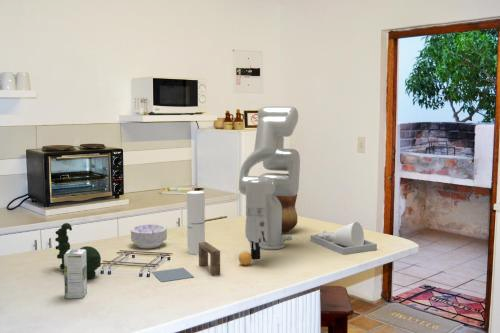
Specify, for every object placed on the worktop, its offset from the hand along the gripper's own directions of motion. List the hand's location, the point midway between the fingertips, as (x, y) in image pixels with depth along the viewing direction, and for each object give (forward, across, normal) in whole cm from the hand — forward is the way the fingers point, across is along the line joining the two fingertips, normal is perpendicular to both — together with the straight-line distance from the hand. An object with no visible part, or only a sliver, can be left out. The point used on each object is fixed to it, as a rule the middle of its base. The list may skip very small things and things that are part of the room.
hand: (255, 258), depth 205 cm
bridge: (+2, +1, +19) cm, 19 cm away
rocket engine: (+2, +7, -46) cm, 47 cm away
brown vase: (+1, +40, -37) cm, 55 cm away
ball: (-1, +1, +4) cm, 4 cm away
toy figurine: (+3, +18, +62) cm, 65 cm away
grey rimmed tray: (+1, +7, -46) cm, 47 cm away
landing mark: (+2, +2, +33) cm, 33 cm away
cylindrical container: (+2, +26, +14) cm, 30 cm away
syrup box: (+3, -4, +67) cm, 67 cm away
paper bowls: (+2, +45, +28) cm, 53 cm away
